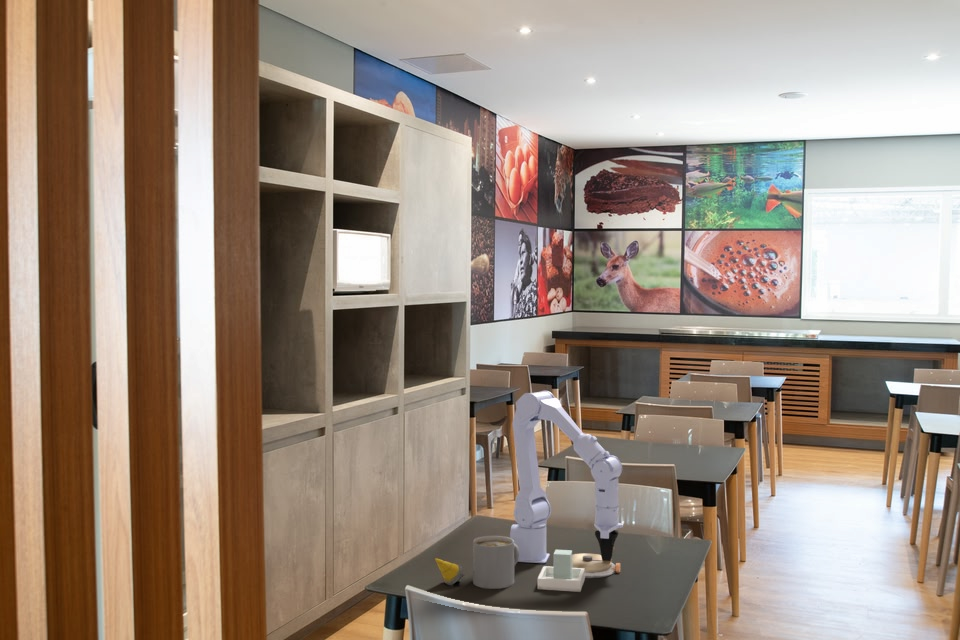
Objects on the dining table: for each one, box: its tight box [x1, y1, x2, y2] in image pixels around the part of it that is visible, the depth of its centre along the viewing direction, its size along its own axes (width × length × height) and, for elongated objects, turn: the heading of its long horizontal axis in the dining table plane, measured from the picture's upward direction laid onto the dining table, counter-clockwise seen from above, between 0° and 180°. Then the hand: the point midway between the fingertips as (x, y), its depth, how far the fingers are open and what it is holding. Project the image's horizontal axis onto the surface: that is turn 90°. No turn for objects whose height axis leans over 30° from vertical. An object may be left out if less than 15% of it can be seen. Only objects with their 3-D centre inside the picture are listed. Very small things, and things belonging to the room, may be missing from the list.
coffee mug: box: [472, 535, 519, 590], centre depth 211 cm, size 13×10×10 cm
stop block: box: [552, 549, 573, 579], centre depth 209 cm, size 4×4×7 cm
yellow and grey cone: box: [434, 557, 465, 586], centre depth 209 cm, size 5×5×10 cm
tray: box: [537, 565, 586, 593], centre depth 209 cm, size 10×10×2 cm
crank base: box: [585, 562, 621, 579], centre depth 220 cm, size 15×14×2 cm
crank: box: [572, 547, 616, 572], centre depth 220 cm, size 13×12×5 cm
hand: (606, 560), depth 218 cm, fingers closed, pressing on crank
